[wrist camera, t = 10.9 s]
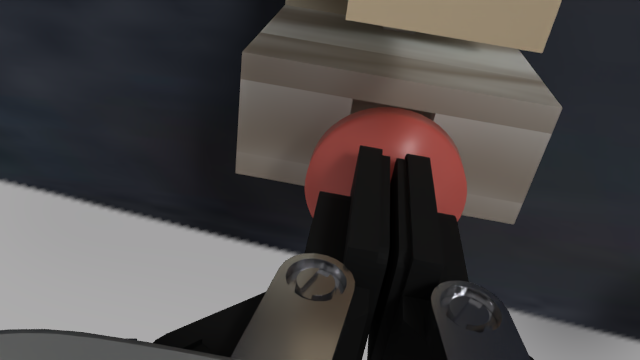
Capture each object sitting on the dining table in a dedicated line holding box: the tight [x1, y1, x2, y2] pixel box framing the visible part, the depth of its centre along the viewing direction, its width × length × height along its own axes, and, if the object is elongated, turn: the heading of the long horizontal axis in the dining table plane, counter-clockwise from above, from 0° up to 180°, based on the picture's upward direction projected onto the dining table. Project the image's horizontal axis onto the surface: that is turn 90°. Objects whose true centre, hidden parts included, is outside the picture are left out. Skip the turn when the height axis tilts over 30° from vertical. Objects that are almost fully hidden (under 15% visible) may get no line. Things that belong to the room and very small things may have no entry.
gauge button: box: [305, 107, 467, 222], centre depth 14 cm, size 4×4×3 cm
